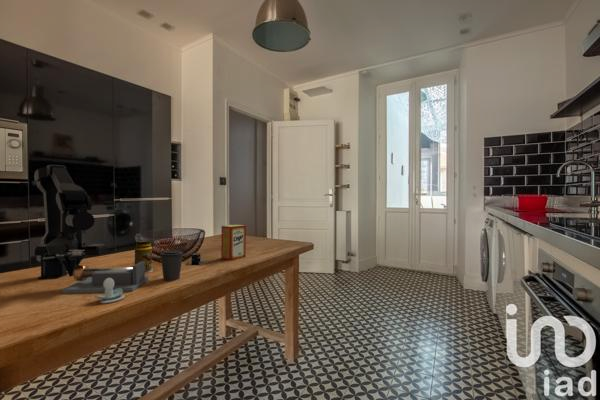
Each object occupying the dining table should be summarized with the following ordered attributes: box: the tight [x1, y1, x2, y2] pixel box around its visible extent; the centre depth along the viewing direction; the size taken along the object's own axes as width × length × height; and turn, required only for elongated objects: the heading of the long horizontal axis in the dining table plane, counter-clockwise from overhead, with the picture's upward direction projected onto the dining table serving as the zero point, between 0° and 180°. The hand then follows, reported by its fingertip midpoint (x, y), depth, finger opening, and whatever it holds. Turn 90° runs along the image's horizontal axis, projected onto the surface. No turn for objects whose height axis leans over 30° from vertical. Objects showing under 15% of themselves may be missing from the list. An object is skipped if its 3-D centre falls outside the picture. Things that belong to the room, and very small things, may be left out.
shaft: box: [72, 264, 132, 282], centre depth 96 cm, size 18×5×5 cm, turn 98°
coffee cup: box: [159, 249, 185, 282], centre depth 105 cm, size 8×8×10 cm
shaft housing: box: [61, 261, 149, 295], centre depth 96 cm, size 20×13×7 cm, turn 98°
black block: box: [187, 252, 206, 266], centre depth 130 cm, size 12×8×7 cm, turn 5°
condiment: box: [134, 239, 154, 274], centre depth 115 cm, size 7×8×12 cm
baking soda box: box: [220, 224, 247, 261], centre depth 142 cm, size 10×6×16 cm
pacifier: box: [93, 278, 126, 304], centre depth 84 cm, size 7×6×6 cm
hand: (71, 276), depth 94 cm, fingers closed
